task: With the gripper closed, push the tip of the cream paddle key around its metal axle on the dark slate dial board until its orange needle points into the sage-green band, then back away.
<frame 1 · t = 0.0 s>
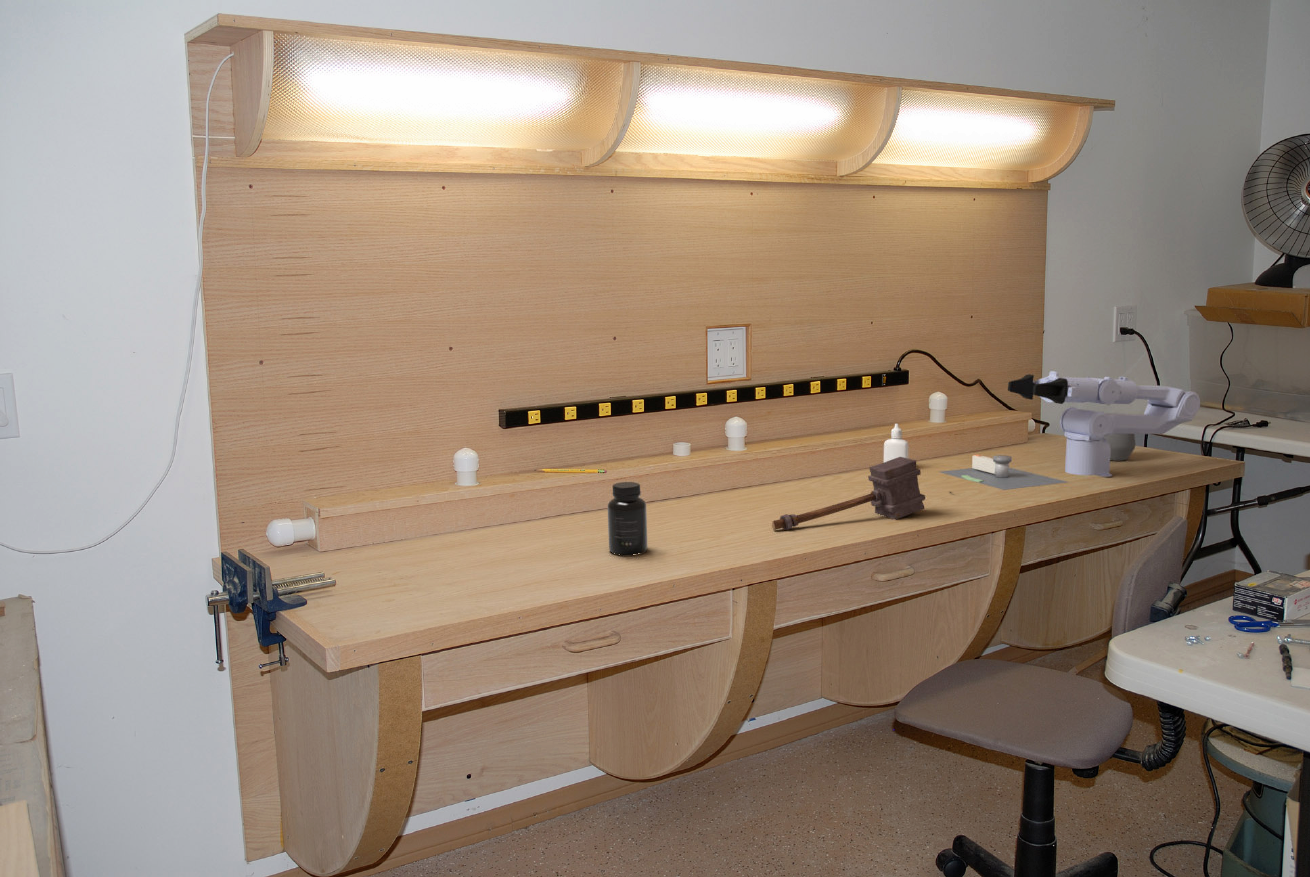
hand: (1021, 388, 220), 22 cm above the table, tool horizontal, fingers open, 7 cm apart
cup: (1113, 460, 250), on the table
supplement bottle: (628, 552, 174), on the table
peg key: (991, 463, 229), point 3 cm above the table, hinge at 0.0°
eye dropper bottle: (895, 474, 237), on the table
hammer: (846, 523, 192), on the table
dial board: (1001, 480, 227), on the table
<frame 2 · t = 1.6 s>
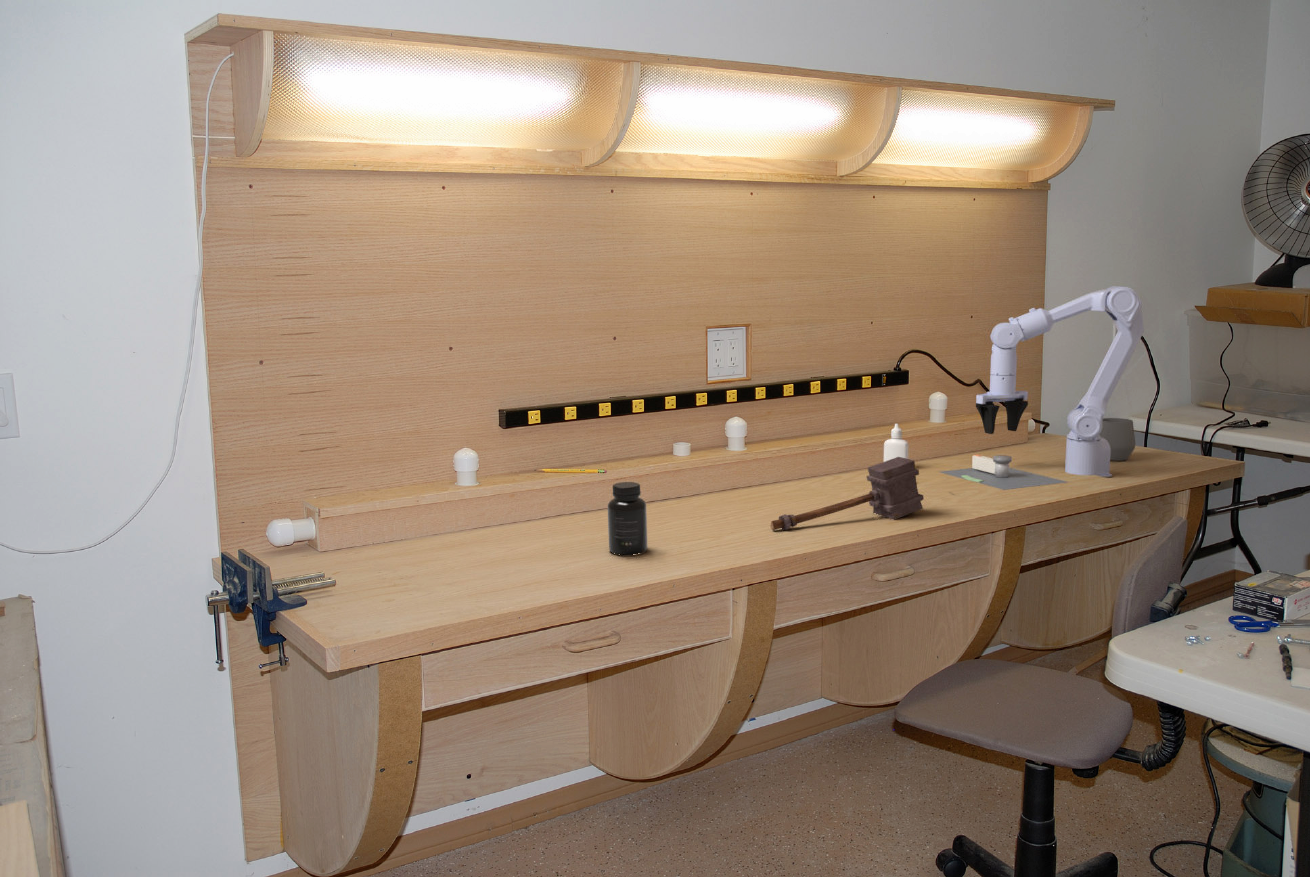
hand: (1000, 432, 233), 10 cm above the table, tool pointing down, fingers open, 7 cm apart
nothing on the table moved.
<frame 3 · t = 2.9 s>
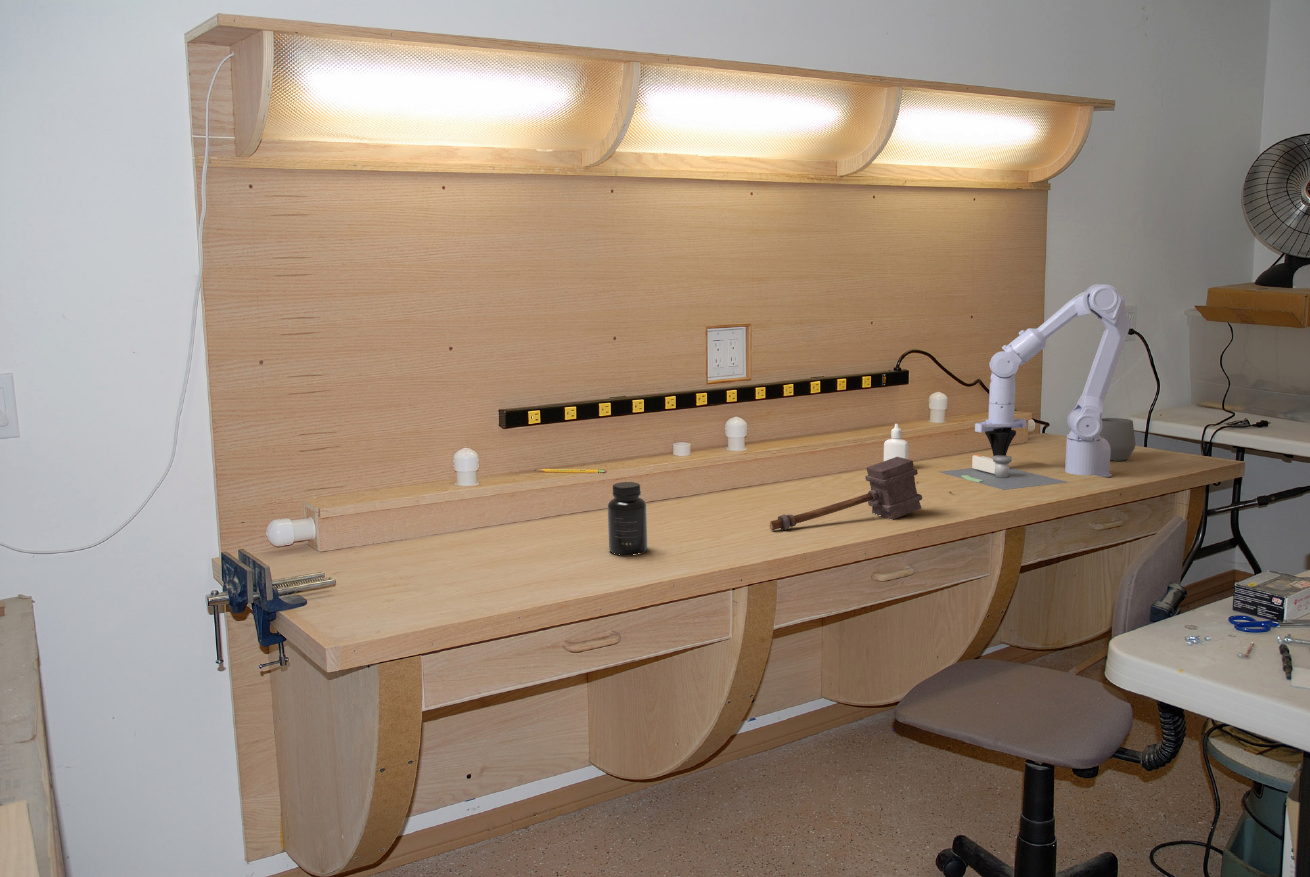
hand: (999, 459, 234), 3 cm above the table, tool pointing down, fingers closed
nothing on the table moved.
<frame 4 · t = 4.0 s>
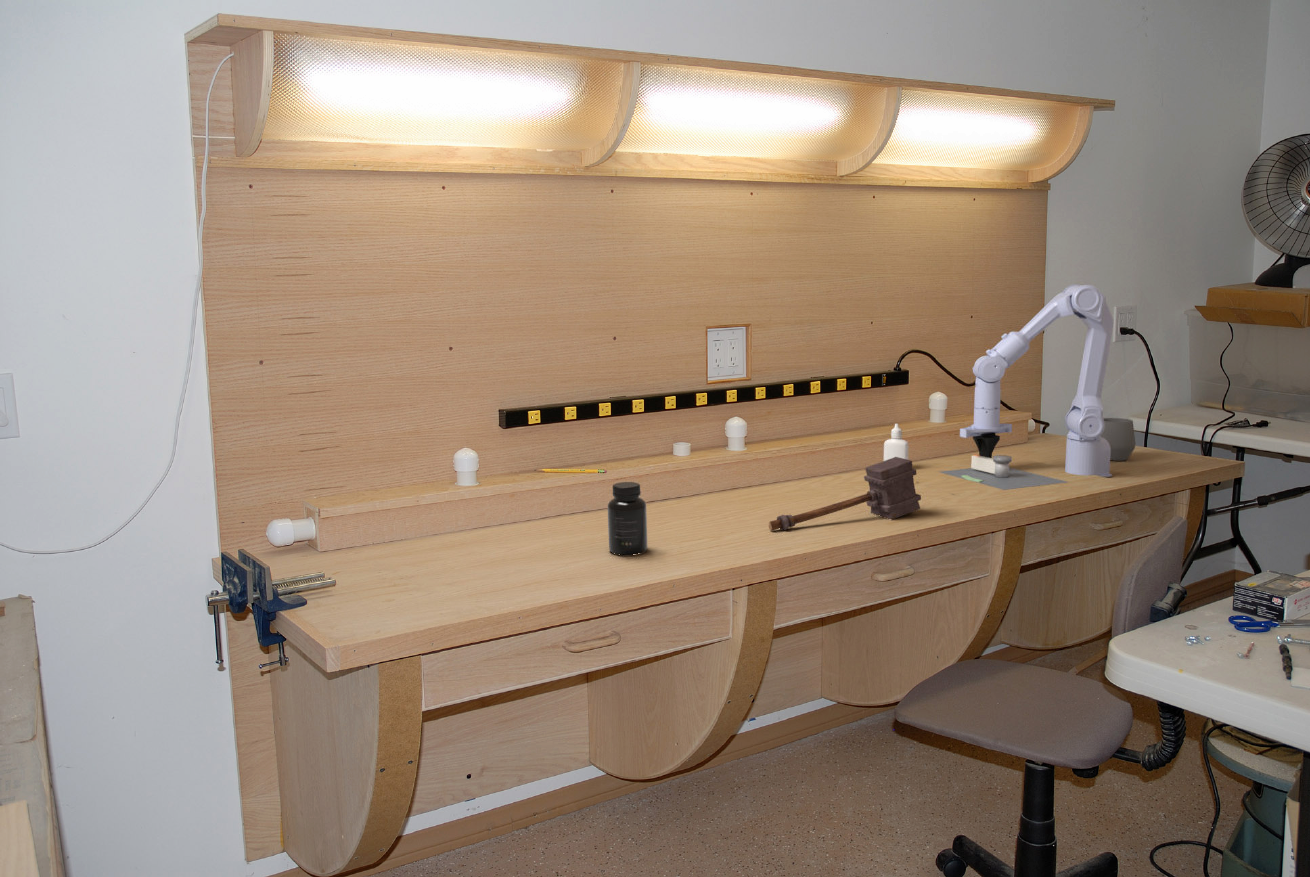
hand: (984, 465, 233), 2 cm above the table, tool pointing down, fingers closed, pressing on peg key
peg key: (990, 464, 229), point 3 cm above the table, hinge at 2.0°, touching gripper
everything else where it was.
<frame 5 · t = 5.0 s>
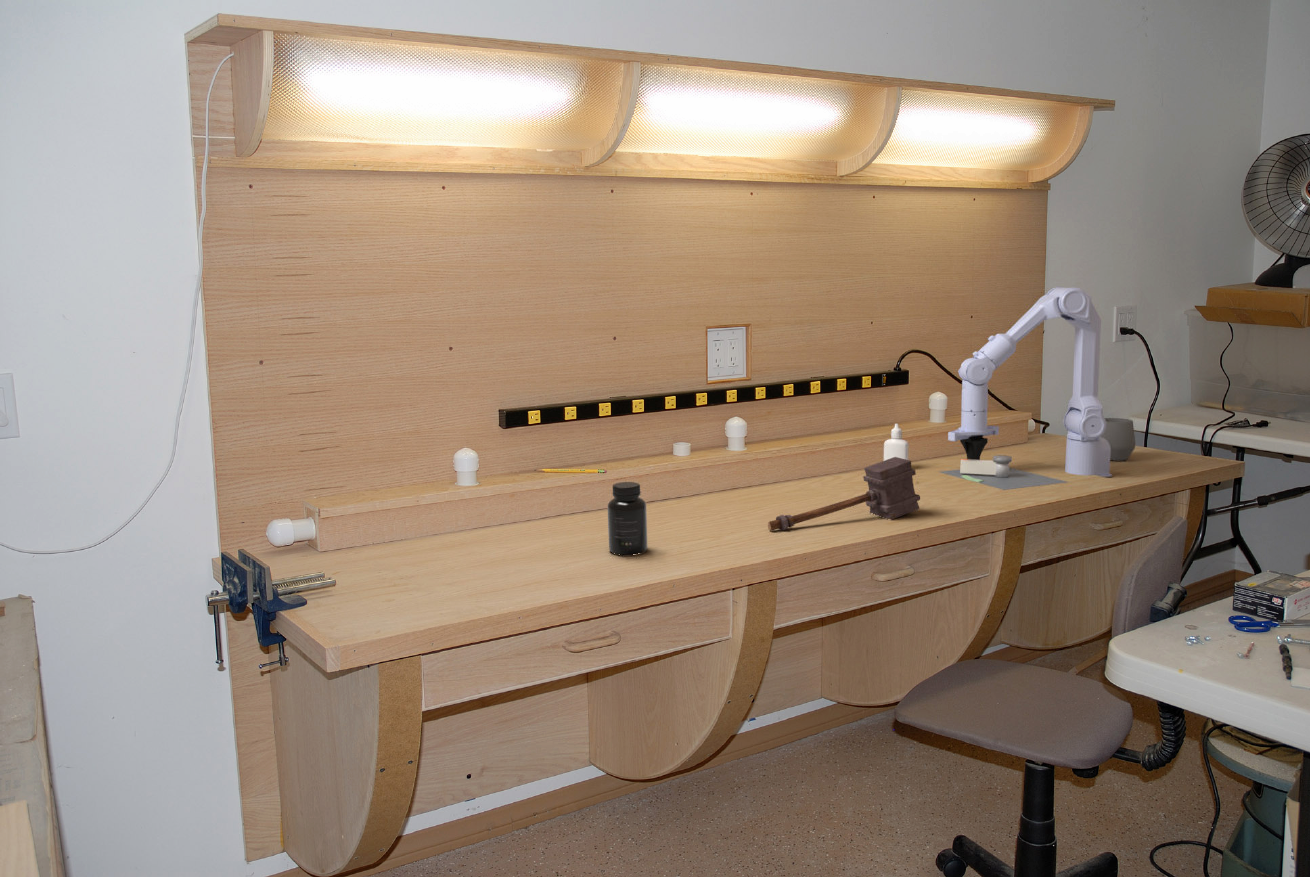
hand: (972, 468, 230), 2 cm above the table, tool pointing down, fingers closed, pressing on peg key
peg key: (985, 465, 227), point 3 cm above the table, hinge at 46.7°, touching gripper
everything else where it was.
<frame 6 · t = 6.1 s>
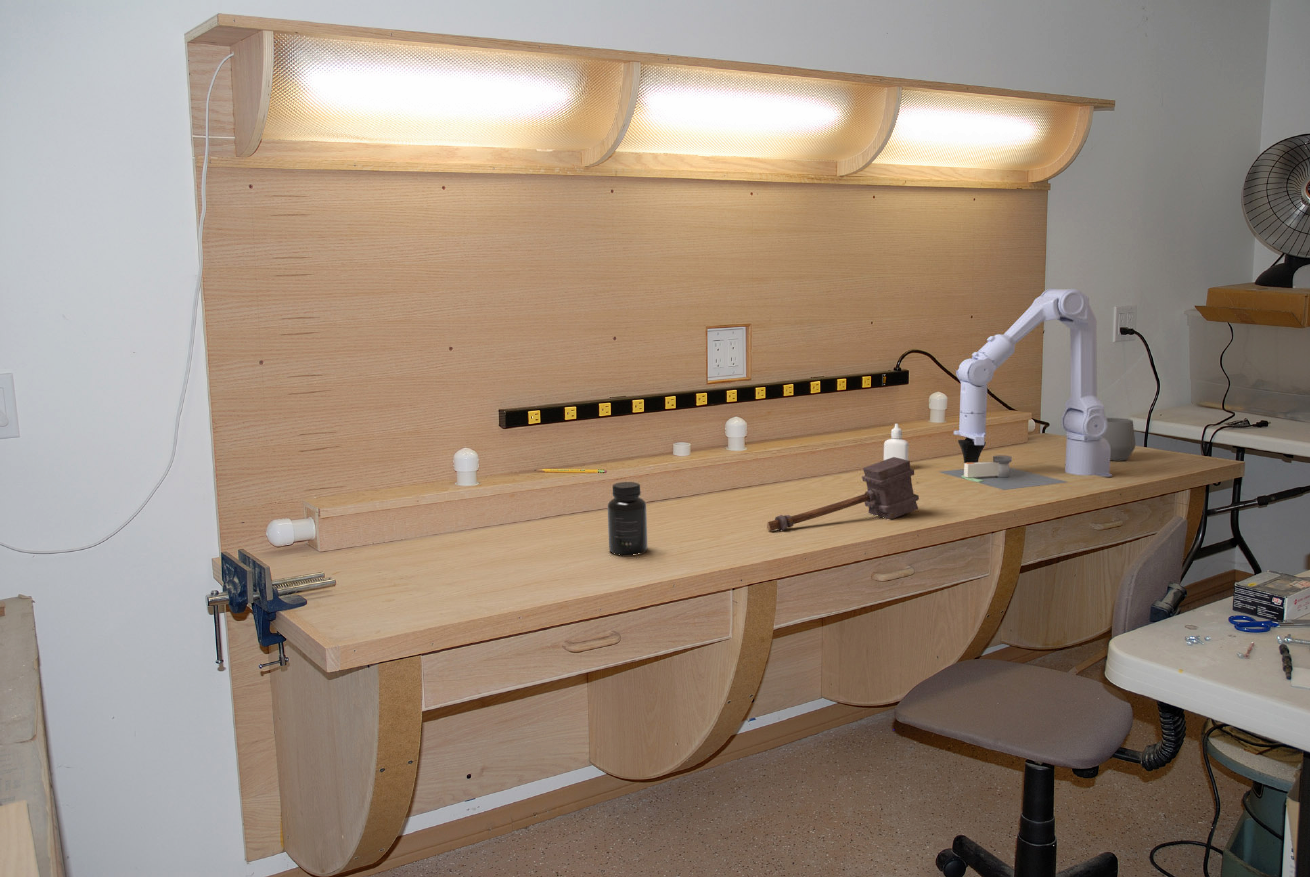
hand: (970, 471, 226), 2 cm above the table, tool pointing down, fingers closed, pressing on peg key
peg key: (988, 467, 225), point 3 cm above the table, hinge at 80.0°, touching gripper
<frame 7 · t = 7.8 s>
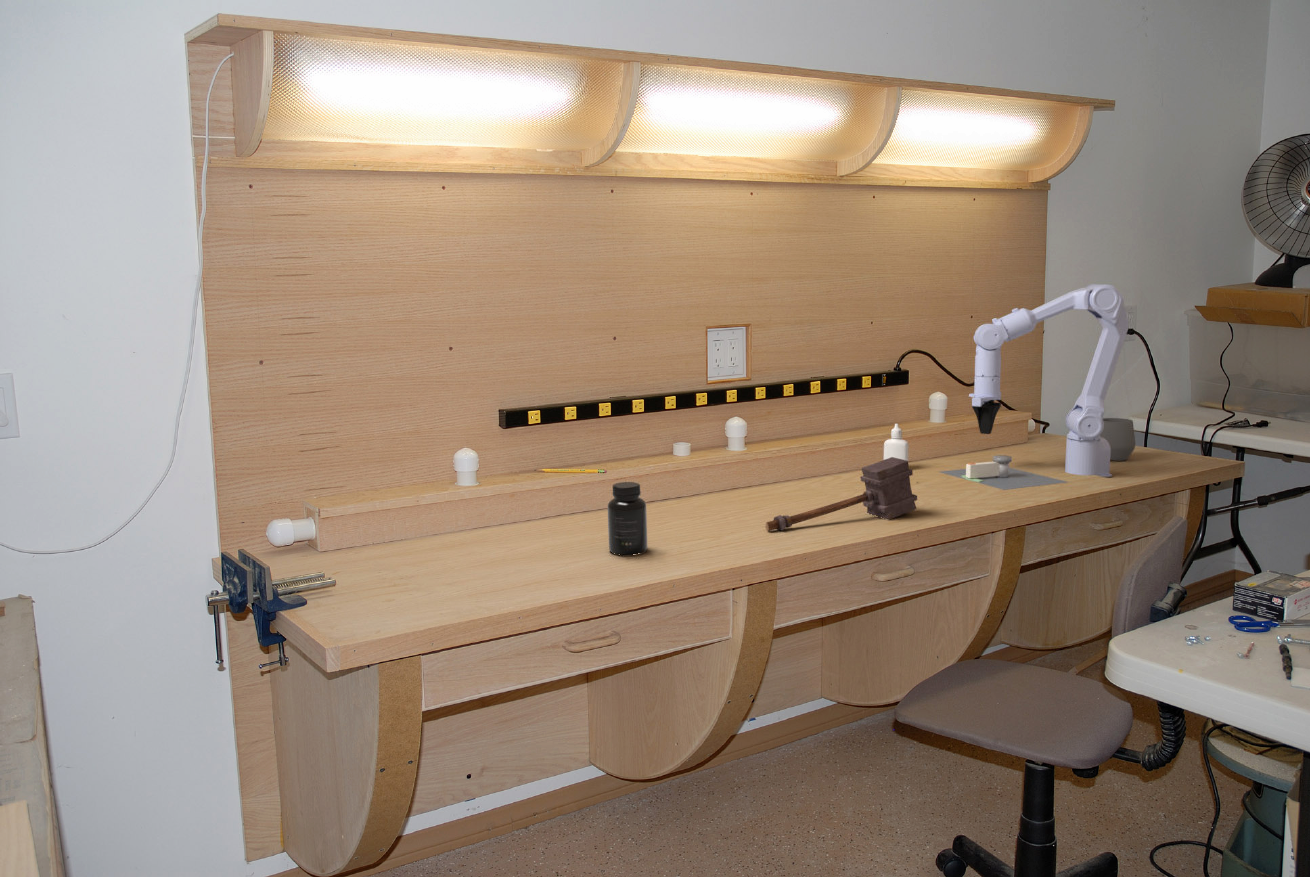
hand: (985, 433, 233), 10 cm above the table, tool pointing down, fingers closed
peg key: (988, 467, 225), point 3 cm above the table, hinge at 85.5°
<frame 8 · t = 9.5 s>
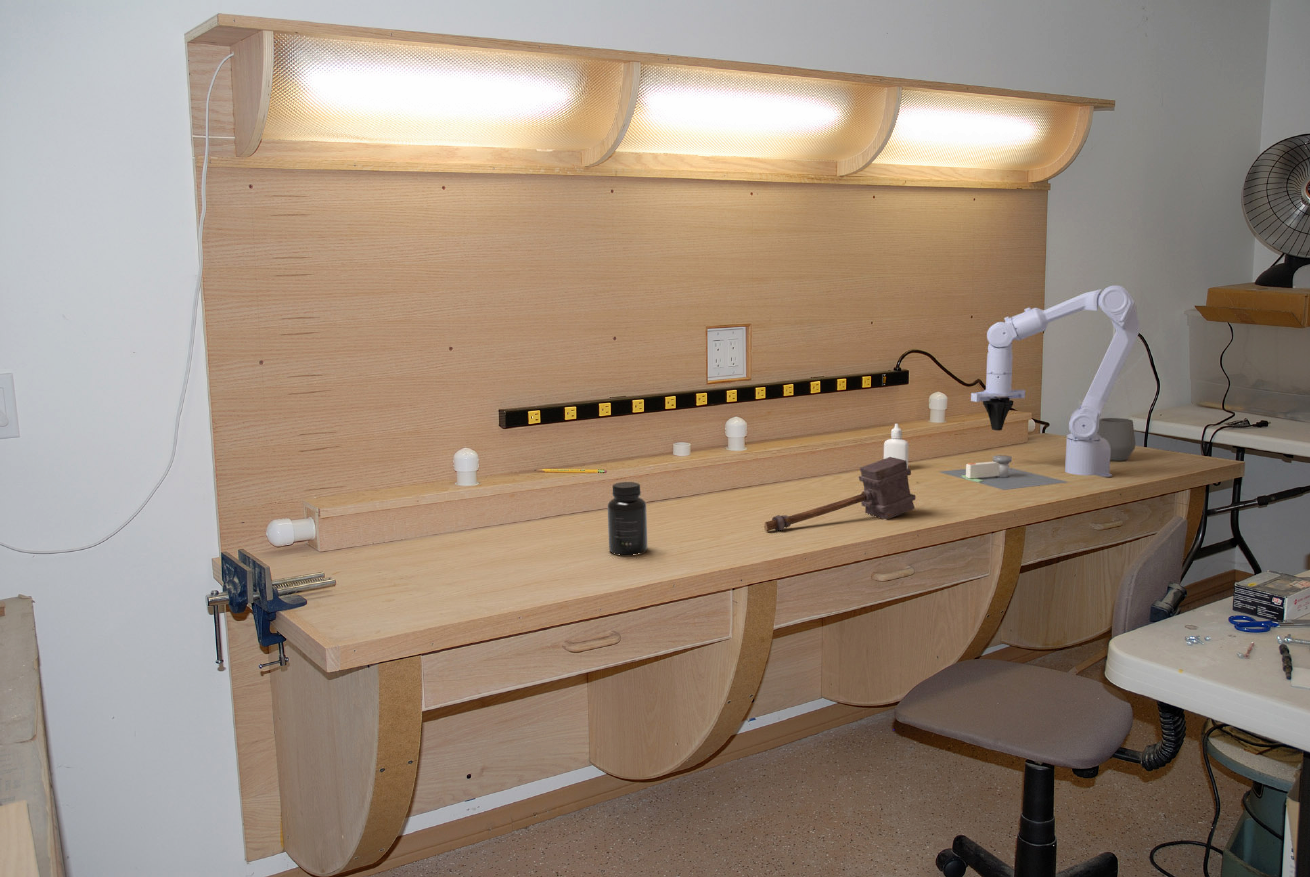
hand: (996, 429, 237), 10 cm above the table, tool pointing down, fingers closed
at the end: peg key at +86° (first picture: +0°); peg key touching nothing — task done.
